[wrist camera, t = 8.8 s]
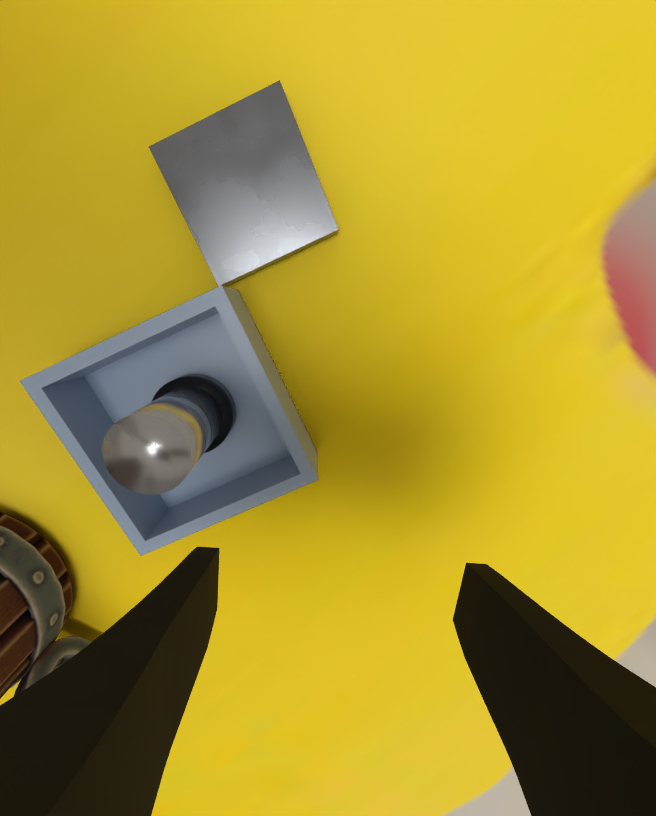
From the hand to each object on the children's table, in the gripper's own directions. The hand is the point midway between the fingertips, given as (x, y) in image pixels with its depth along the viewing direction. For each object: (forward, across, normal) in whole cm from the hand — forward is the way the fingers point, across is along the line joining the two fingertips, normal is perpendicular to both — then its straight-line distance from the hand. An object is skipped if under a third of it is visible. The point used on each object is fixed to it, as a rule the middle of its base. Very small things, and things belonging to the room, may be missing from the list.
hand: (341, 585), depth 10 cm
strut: (+9, +7, -2) cm, 12 cm away
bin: (+10, +7, -2) cm, 12 cm away
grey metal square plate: (+10, +5, -12) cm, 17 cm away
